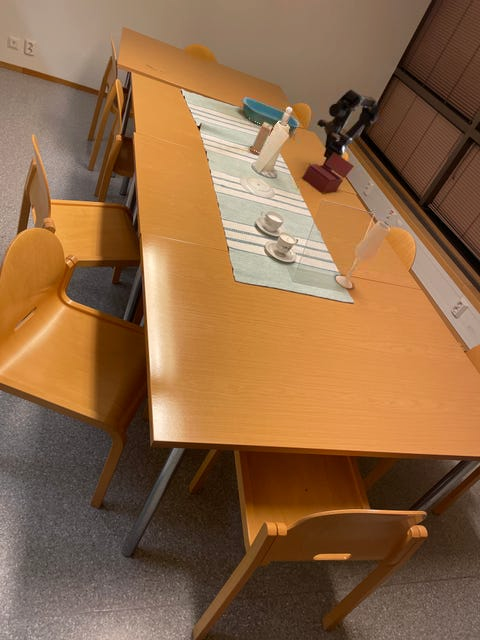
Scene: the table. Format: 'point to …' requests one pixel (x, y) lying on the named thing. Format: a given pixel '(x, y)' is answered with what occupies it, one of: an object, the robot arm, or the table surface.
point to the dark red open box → (322, 178)
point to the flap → (339, 165)
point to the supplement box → (261, 137)
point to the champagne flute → (366, 249)
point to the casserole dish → (265, 114)
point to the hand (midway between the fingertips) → (325, 147)
